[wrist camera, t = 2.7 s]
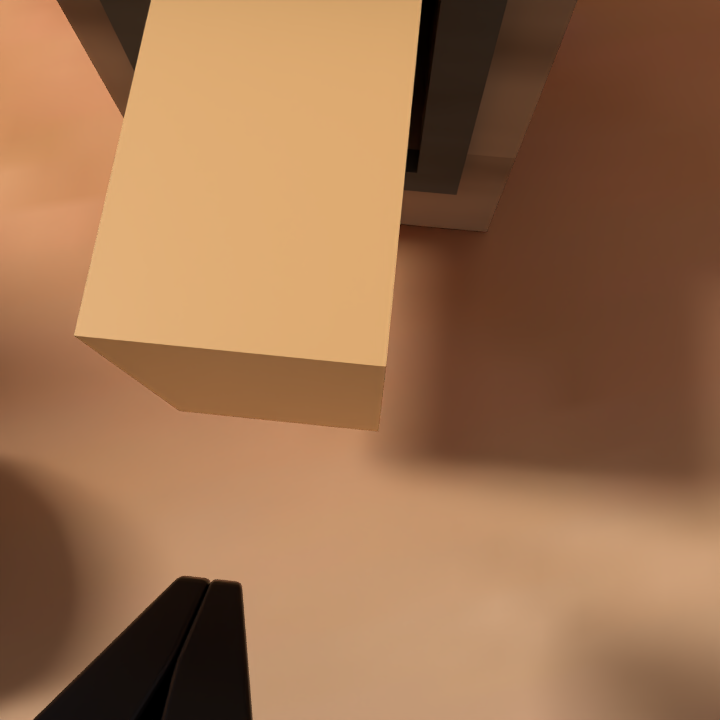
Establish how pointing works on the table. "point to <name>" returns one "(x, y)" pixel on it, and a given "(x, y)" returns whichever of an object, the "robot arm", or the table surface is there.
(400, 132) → the peg
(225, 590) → the robot arm
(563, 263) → the table surface
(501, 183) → the housing
